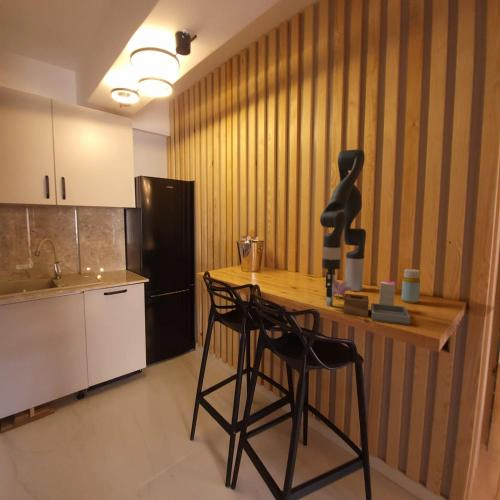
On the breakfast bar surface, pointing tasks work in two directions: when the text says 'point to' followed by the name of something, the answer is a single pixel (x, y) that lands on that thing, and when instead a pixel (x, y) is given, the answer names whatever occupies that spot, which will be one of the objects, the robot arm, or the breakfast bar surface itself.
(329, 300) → the pin gauge
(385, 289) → the supplement box
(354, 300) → the bore block
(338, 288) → the lily
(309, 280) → the breakfast bar surface
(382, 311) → the tray
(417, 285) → the bottle
